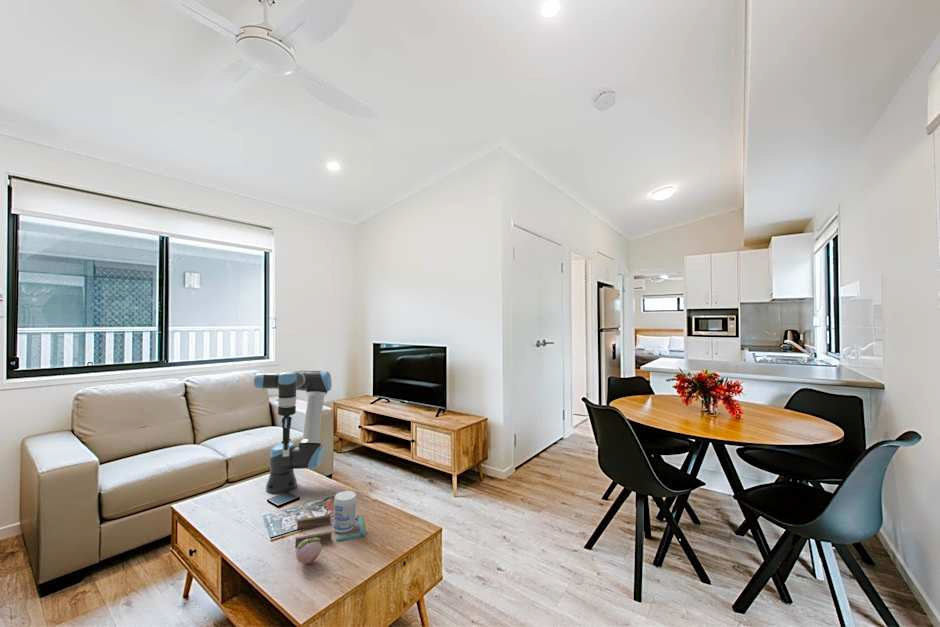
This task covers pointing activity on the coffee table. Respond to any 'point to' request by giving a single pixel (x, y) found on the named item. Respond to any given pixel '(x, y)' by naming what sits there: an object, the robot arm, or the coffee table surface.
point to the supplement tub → (344, 511)
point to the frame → (350, 536)
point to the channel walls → (311, 523)
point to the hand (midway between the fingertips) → (285, 455)
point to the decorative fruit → (308, 550)
